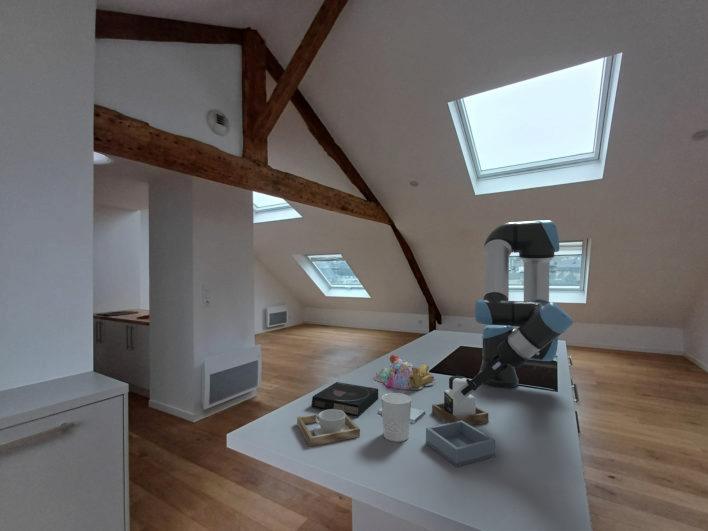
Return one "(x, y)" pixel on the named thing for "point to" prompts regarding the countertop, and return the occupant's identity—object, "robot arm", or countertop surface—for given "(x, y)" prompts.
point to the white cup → (396, 416)
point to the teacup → (330, 422)
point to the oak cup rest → (329, 437)
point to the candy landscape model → (405, 375)
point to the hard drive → (412, 414)
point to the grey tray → (460, 443)
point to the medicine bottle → (451, 404)
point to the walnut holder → (471, 419)
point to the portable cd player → (345, 398)
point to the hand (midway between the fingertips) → (463, 392)
